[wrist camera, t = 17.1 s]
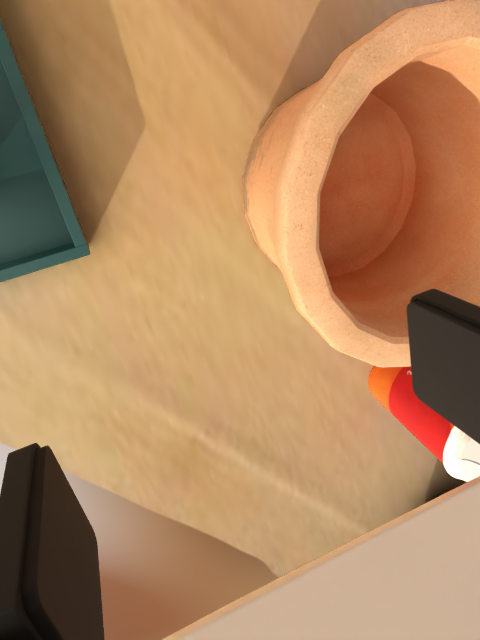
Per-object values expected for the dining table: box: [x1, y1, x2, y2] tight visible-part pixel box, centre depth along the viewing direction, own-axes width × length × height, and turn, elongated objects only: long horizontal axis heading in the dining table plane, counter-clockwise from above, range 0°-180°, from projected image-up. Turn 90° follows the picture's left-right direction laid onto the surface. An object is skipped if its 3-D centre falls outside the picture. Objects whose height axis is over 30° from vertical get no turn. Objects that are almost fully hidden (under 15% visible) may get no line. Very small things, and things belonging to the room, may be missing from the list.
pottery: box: [243, 0, 480, 367], centre depth 34 cm, size 22×22×14 cm
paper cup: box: [368, 366, 480, 482], centre depth 45 cm, size 8×8×14 cm
